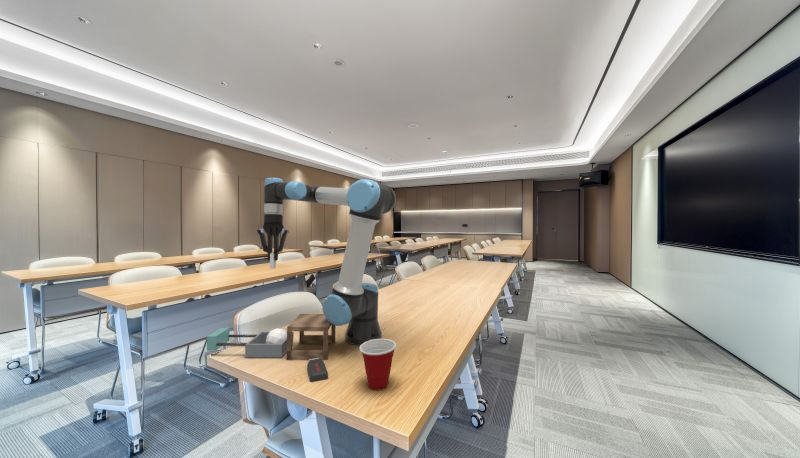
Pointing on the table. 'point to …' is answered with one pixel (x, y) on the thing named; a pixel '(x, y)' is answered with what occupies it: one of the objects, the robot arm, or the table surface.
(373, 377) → the plastic cup
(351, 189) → the robot arm
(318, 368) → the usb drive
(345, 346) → the table surface
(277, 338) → the geometric ball
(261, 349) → the long-handled grey tray
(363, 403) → the table surface
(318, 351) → the shelf
